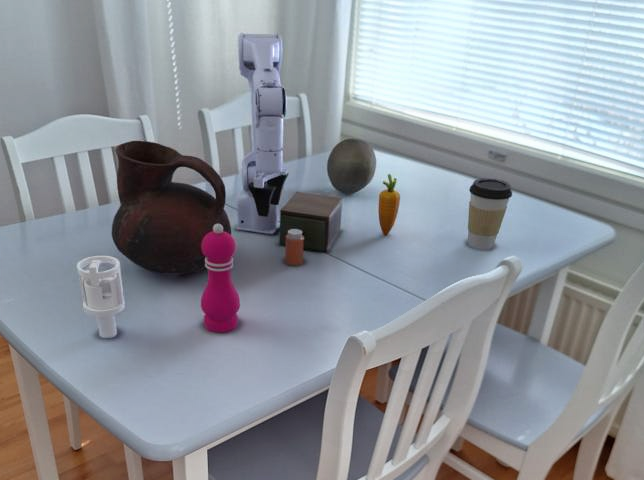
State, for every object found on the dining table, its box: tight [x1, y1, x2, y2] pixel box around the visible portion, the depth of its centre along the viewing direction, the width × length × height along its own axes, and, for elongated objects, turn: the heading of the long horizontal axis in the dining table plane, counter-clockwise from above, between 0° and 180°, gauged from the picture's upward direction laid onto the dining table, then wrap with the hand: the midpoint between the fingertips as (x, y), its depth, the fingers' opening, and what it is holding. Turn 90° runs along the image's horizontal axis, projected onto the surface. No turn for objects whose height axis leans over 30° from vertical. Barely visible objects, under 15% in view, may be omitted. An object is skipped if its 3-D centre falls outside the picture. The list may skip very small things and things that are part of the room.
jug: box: [111, 140, 232, 275], centre depth 140 cm, size 25×25×25 cm
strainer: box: [76, 255, 126, 339], centre depth 117 cm, size 7×7×15 cm
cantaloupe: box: [326, 138, 377, 195], centre depth 186 cm, size 14×14×15 cm
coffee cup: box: [467, 177, 513, 251], centre depth 159 cm, size 10×10×15 cm
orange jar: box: [284, 229, 304, 266], centre depth 149 cm, size 4×4×7 cm
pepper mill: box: [200, 224, 241, 333], centre depth 120 cm, size 7×7×20 cm
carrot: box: [378, 173, 401, 237], centre depth 161 cm, size 5×5×15 cm
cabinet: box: [279, 191, 343, 253], centre depth 160 cm, size 14×12×9 cm
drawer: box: [281, 214, 326, 250], centre depth 158 cm, size 14×10×7 cm
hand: (268, 209), depth 148 cm, fingers open, 7 cm apart
